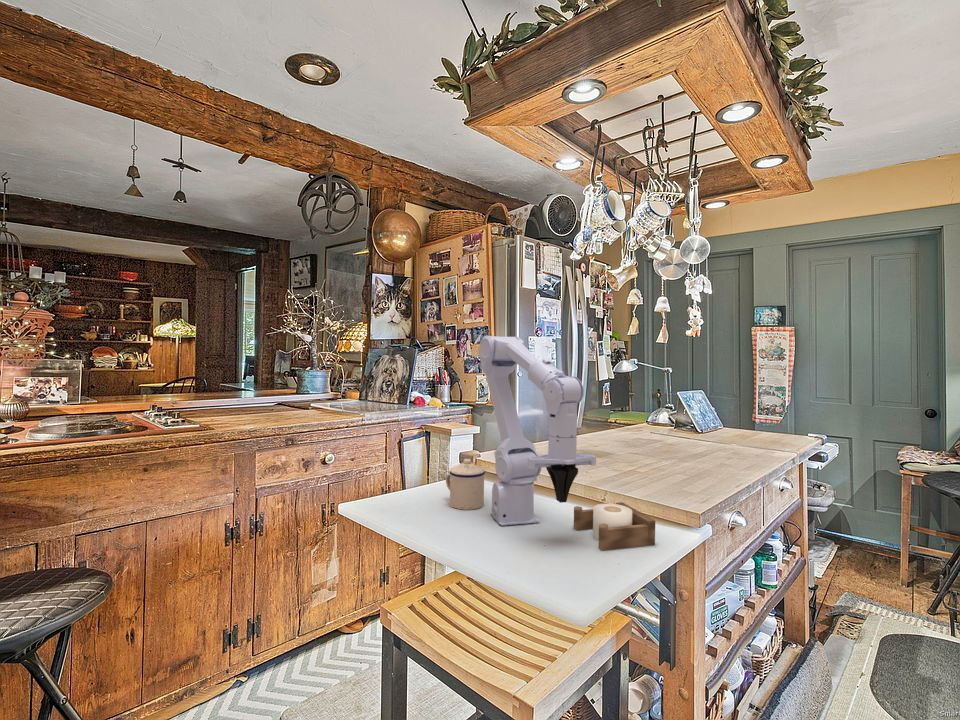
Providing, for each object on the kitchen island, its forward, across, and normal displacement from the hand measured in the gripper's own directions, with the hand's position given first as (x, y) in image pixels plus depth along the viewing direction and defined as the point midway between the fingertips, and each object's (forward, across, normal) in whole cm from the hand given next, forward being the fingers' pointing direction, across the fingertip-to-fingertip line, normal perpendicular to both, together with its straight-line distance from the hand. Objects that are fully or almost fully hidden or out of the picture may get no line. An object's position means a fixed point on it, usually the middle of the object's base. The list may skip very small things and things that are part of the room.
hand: (561, 501), depth 101 cm
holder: (+8, +11, 0) cm, 14 cm away
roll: (+8, +12, 0) cm, 14 cm away
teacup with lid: (+9, -14, +29) cm, 33 cm away
